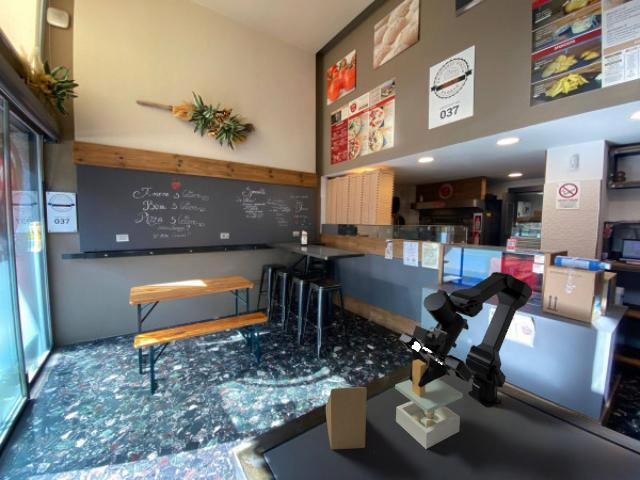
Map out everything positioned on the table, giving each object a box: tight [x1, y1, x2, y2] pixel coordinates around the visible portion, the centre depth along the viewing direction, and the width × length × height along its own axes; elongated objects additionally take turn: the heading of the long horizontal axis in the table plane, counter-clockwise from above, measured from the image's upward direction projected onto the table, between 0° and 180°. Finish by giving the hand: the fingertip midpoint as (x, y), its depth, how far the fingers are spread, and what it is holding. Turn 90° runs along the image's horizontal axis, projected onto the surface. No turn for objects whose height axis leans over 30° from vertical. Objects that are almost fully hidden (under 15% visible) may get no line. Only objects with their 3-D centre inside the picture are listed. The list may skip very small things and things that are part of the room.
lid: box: [394, 359, 464, 413], centre depth 70 cm, size 13×11×10 cm
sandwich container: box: [325, 386, 368, 450], centre depth 71 cm, size 9×15×15 cm, turn 4°
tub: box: [395, 400, 461, 450], centre depth 71 cm, size 12×10×4 cm
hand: (414, 383), depth 68 cm, fingers closed on lid, 2 cm apart
